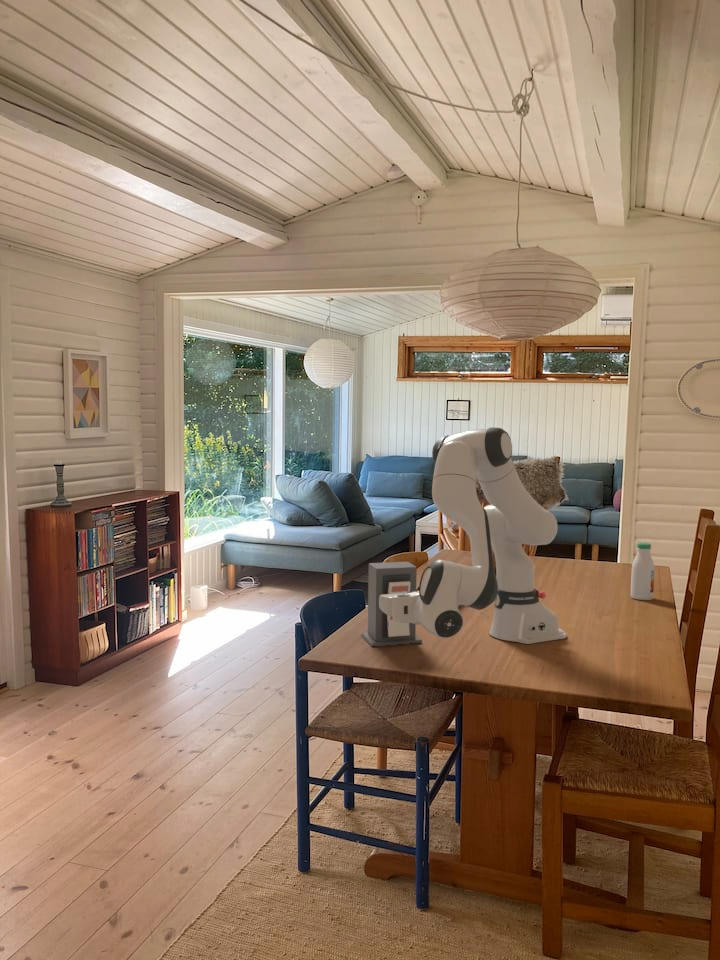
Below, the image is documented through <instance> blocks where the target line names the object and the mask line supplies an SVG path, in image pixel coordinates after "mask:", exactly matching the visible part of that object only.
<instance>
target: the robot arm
mask: <svg viewBox="0 0 720 960" xmlns="http://www.w3.org/2000/svg"><path fill="white" fill-rule="evenodd" d="M511 439H512V438H511V437H510V435H509V433H508V432H507V431H506V430H504V428H501V427H489V428H480V429H479V428H477V429H470V430H467V431H463V432H459V433H454V434H452V435H445V436H442V437H440V438H438V439H437V440H436V441H435V443H434V445H433V446H432V447H433V448H432V451H431V452H432V453H431V454H432V456H431V457H432V460H433V464H434V471H433V475H432V476H433V477H432V484H431V485H432V487H431V497H432V501H433V504H434V506H435V508H437V510H438V511H439V512H440V514H442V515H443V516H445V517H446V518H447V519H449V520H450V521H452V522H454V523H455V524H457V525H458V526H459V527H461V528H462V529H463V530H464V532H465V533H466V535H467V536H468V538H469V541H470V552H471V554H470V555H471V563H472V566H470V565H466V564H461V563H457V562H454V561H449V560H445V559H440V558H439V559H435V560H433V561H432V562H431V563H430V564H429V565H427V567H426V568H424V570H423V572H422V574H421V575H420V576H421V577H420V581H419V584H418V585H419V586H418V587H419V591H417V592H415V591H412V592H404V593H399V594H382V595H380V596H379V608H380V609H381V610H382V611H383V612H384V613H385V614H387V615H388V616H391V617H393V620H394V621H396V622H407V623H414V624H416V625H419V626H421V627H422V628H424V629H425V630H426V631H427V632H429V633H430V634H431V635H433V636H435V637H438V638H441V639H448V638H452V637H454V636H456V635H457V634H458V633H459V632H460V631H462V628H463V625H464V618H463V614H462V613H461V612H460V609H459V606H466V607H468V608H470V609H471V608H472V609H474V610H477V611H481V610H484V609H487V607H489V606H490V605H491V604H493V603H494V613H493V618H492V622H491V627H490V630H489V635H490V636H491V637H494V638H496V639H498V640H503V641H508V642H517V643H520V644H525V645H528V644H529V645H531V644H537V643H543V642H549V641H556V640H564V639H566V638H567V633H566V631H564V630H563V629H562V628H560V627H559V626H560V625H559V621H558V617H557V616H556V613H555V612H553V611H552V610H551V609H549V608H548V607H547V606H546V605H545V604H544V603H542V602H541V601H540V599H542V600H544V599H546V597H547V594H546V592H544V591H542V590H537V589H536V588H535V574H536V573H535V571H536V570H535V569H536V568H535V563H534V561H533V559H532V558H530V556H528V555H527V553H526V551H525V549H524V548H523V545H528V546H546V545H549V544H551V543H552V542H553V541H554V539H555V538H556V536H557V533H558V528H559V527H558V520H557V518H556V517H555V515H554V514H553V513H552V512H550V511H549V510H547V509H546V508H545V507H543V506H542V505H541V504H540V503H538V501H536V499H534V498H533V496H532V495H531V494H530V493H529V491H528V490H527V489H526V487H525V486H524V484H523V483H522V480H521V478H520V475H519V473H518V471H517V468H516V466H515V463H514V461H513V459H512V456H513V455H512V454H513V443H512V440H511ZM477 481H478V484H479V486H480V488H481V490H482V492H483V495H484V497H485V499H486V501H487V502H488V503H489V504H488V505H485V506H484V507H483V506H482V504H481V502H480V499H479V496H478V493H477ZM491 546H492V548H491ZM492 549H493V552H494V555H495V559H496V573H495V571H494V566H493V557H492ZM539 598H540V599H539Z"/></svg>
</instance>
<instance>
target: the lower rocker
mask: <svg viewBox="0 0 720 960" xmlns="http://www.w3.org/2000/svg"><path fill="white" fill-rule="evenodd" d="M409 624H410V623H407V622H396V621H394V620H393V617H391V616H388V615H387V626H388V637H394V636H408V635H410V631H409Z"/></svg>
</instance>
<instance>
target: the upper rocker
mask: <svg viewBox="0 0 720 960" xmlns="http://www.w3.org/2000/svg"><path fill="white" fill-rule="evenodd" d="M410 585H411V583H410V582H409V581H407V582H389V588H388V593H387V594H399V593H404V592H410Z"/></svg>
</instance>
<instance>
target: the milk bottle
mask: <svg viewBox="0 0 720 960" xmlns="http://www.w3.org/2000/svg"><path fill="white" fill-rule="evenodd" d="M636 546H637V547H636V549H637V552H636V555H635V557H634V559H633V562H632V563H631V564H632V565H631V574H630V575H631V577H630V597H631V599H635V600H639V601H651V600H653V599H654V590H655V589H654V587H655V586H654V585H655V564H654V560H653V558H652V554H651V551H652V549H651V548H652V544H651V543H650V542H649V543H648V542H638V543H637V544H636Z"/></svg>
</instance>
